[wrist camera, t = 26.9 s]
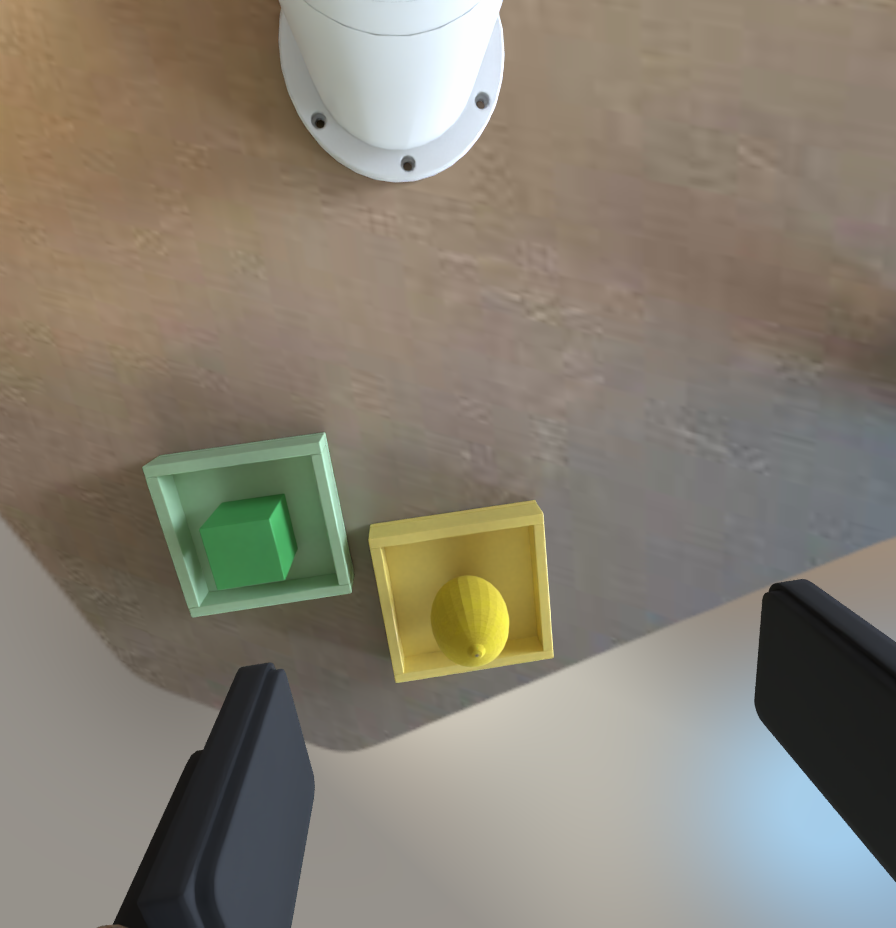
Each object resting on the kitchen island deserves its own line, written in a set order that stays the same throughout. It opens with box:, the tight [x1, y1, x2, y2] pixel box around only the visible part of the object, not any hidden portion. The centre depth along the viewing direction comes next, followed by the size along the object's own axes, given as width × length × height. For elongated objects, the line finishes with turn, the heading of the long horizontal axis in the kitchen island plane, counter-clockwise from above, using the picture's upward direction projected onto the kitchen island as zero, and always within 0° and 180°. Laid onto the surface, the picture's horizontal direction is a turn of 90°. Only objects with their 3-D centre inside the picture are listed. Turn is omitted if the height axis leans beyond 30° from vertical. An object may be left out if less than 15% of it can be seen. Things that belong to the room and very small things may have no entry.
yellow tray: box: [368, 500, 554, 683], centre depth 40 cm, size 13×13×3 cm
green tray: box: [142, 432, 354, 617], centre depth 37 cm, size 12×12×3 cm
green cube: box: [199, 494, 298, 590], centre depth 36 cm, size 4×4×4 cm
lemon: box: [430, 575, 509, 667], centre depth 37 cm, size 6×6×8 cm
